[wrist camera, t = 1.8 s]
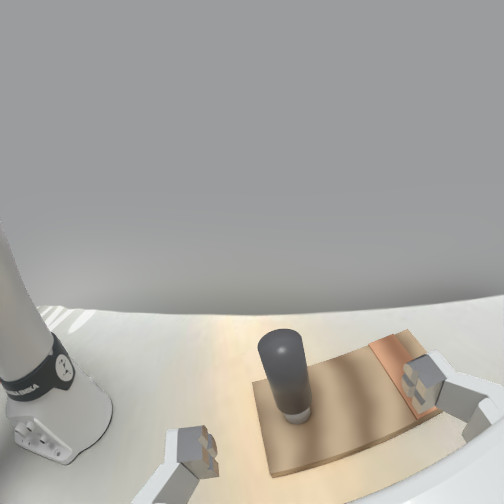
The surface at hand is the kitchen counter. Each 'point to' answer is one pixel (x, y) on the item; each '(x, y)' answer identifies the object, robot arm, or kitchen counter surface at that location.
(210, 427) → the kitchen counter surface
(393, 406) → the board
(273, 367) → the round-topped grey cylinder
